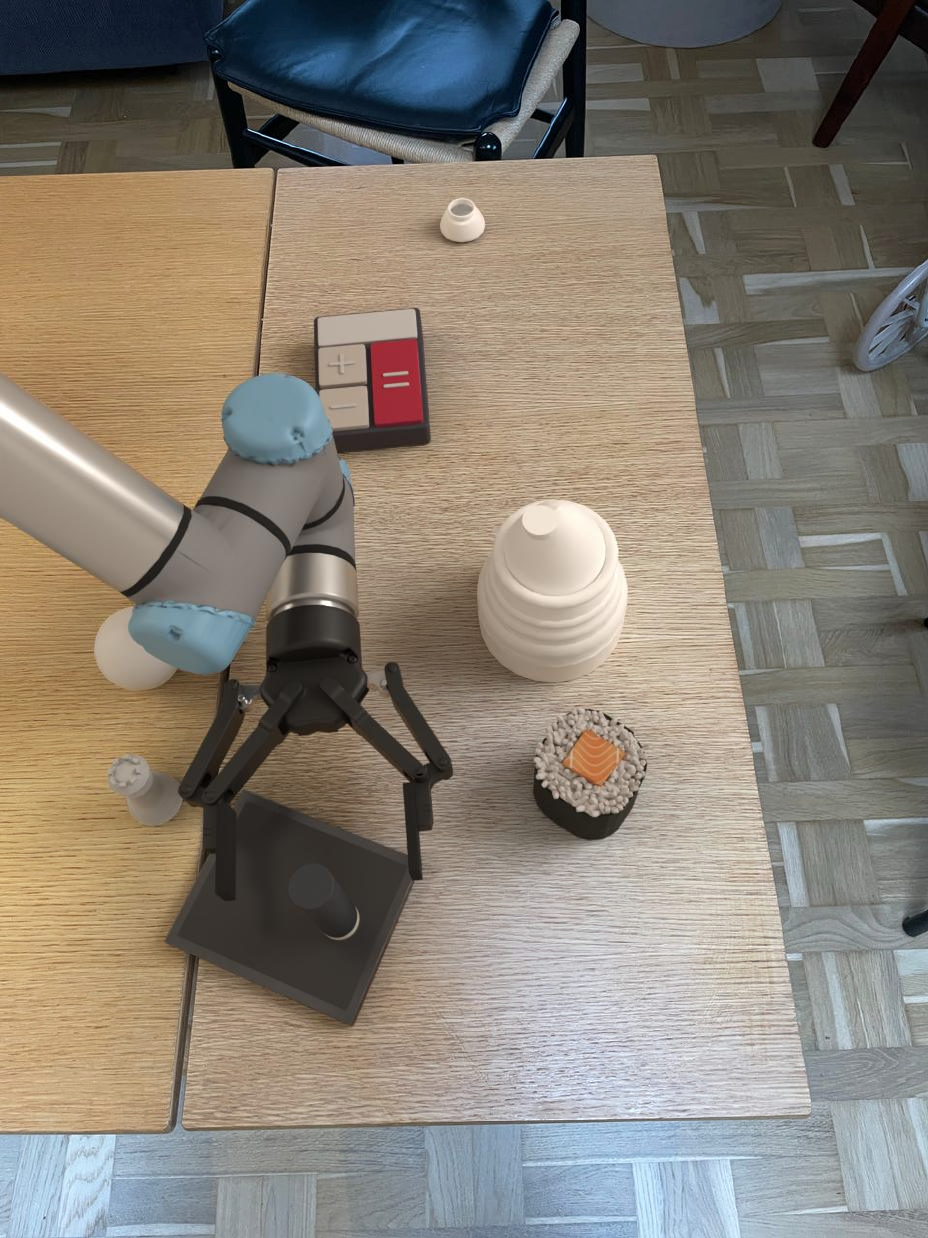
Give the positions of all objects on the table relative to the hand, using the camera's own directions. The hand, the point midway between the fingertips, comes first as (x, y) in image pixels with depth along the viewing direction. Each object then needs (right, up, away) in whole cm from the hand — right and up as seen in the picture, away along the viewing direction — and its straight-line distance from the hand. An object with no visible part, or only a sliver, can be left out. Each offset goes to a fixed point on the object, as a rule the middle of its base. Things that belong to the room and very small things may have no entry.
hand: (320, 887), depth 70 cm
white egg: (-18, +16, +19) cm, 30 cm away
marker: (+1, -4, +6) cm, 7 cm away
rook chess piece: (-15, +4, +12) cm, 20 cm away
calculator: (+1, +42, +31) cm, 53 cm away
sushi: (+20, +5, +11) cm, 23 cm away
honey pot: (+18, +19, +18) cm, 32 cm away
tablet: (-3, -3, +8) cm, 9 cm away
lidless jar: (+10, +63, +42) cm, 76 cm away
